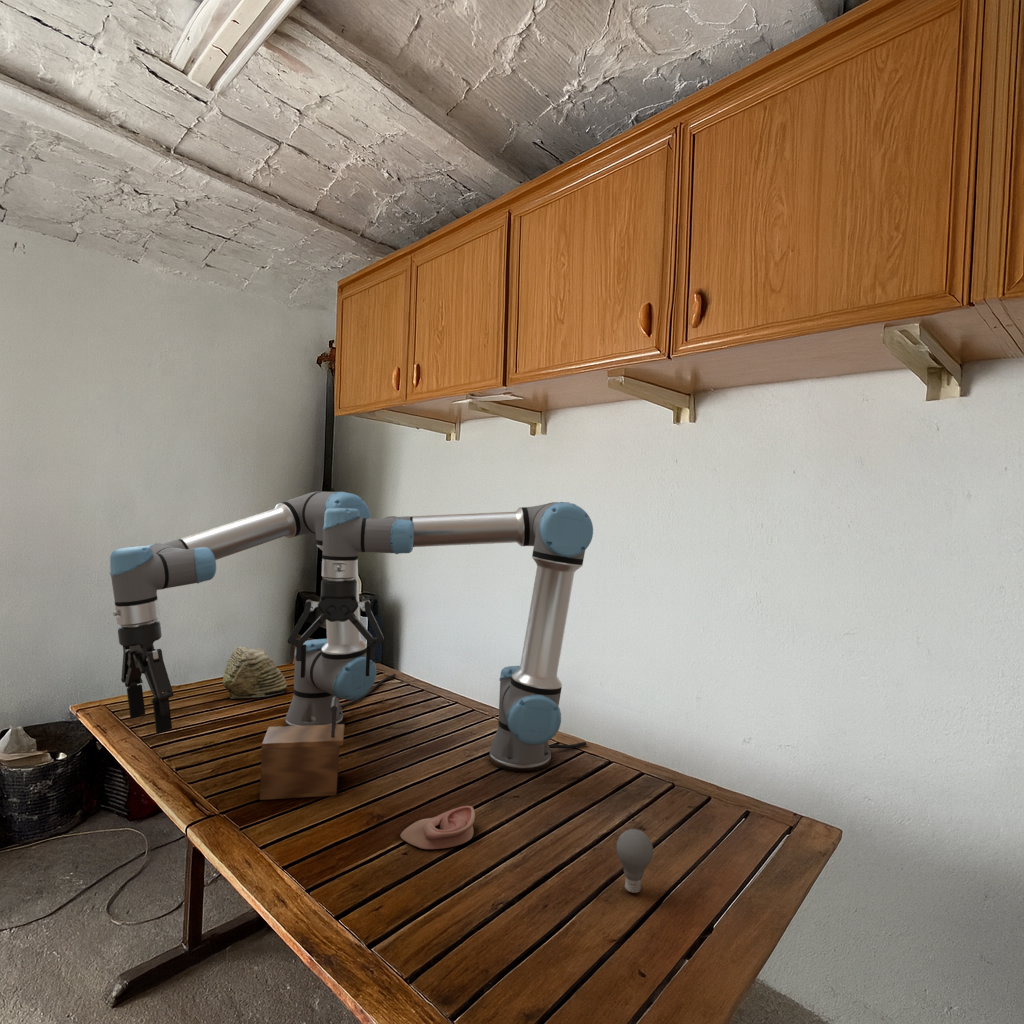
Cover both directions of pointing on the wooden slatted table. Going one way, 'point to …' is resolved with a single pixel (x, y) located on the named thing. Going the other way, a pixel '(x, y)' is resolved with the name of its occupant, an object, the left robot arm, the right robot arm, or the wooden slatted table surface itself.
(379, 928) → the wooden slatted table surface
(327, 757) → the chest
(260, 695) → the fossil
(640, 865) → the light bulb
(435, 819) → the anatomical model
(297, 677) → the left robot arm
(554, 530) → the right robot arm
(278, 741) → the lid
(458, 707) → the wooden slatted table surface
